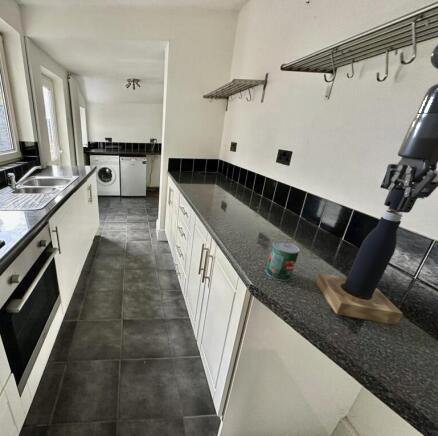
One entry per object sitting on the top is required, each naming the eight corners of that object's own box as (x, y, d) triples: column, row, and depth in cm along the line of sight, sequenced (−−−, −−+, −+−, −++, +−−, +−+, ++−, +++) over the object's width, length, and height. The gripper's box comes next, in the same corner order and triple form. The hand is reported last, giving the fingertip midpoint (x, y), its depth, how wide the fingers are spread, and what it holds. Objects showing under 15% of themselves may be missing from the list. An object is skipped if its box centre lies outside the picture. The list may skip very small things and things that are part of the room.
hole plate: (364, 290, 74) (369, 280, 72) (396, 324, 61) (403, 313, 60) (315, 283, 77) (319, 273, 75) (336, 314, 64) (341, 302, 63)
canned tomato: (290, 284, 76) (300, 255, 72) (264, 276, 79) (272, 248, 75) (290, 271, 82) (299, 244, 78) (266, 265, 86) (273, 238, 82)
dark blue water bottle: (377, 299, 63) (431, 195, 52) (349, 293, 65) (395, 191, 54) (366, 285, 69) (413, 188, 58) (340, 280, 71) (380, 185, 60)
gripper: (486, 138, 44) (439, 221, 50) (423, 135, 57) (393, 201, 63) (437, 136, 45) (398, 217, 52) (387, 134, 58) (361, 199, 65)
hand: (395, 208), depth 58 cm, fingers closed on dark blue water bottle, 4 cm apart
